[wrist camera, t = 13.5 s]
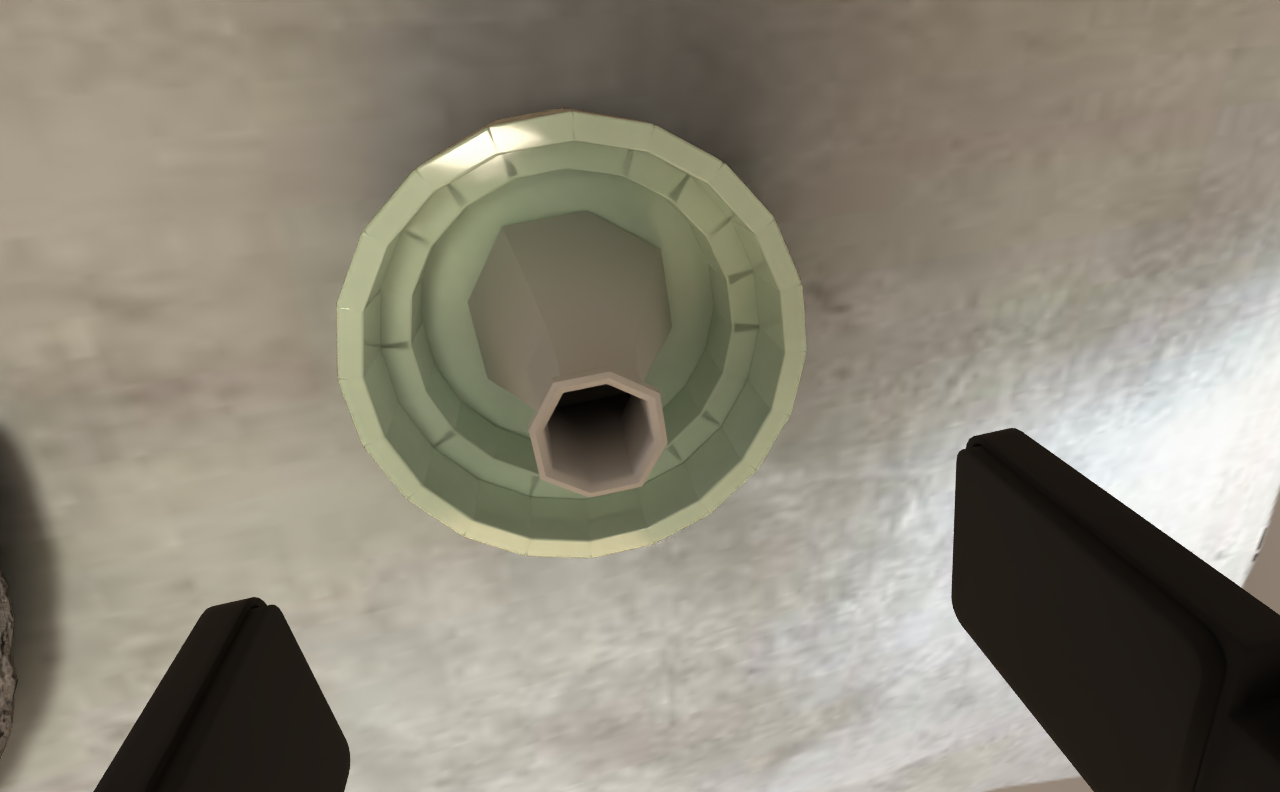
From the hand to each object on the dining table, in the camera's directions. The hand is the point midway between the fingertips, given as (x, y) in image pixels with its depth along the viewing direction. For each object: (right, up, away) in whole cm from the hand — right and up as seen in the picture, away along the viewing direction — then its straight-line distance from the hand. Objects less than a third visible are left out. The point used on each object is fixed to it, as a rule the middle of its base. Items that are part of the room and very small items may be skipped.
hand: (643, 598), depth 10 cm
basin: (-3, +6, +16) cm, 17 cm away
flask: (-2, +6, +15) cm, 17 cm away
